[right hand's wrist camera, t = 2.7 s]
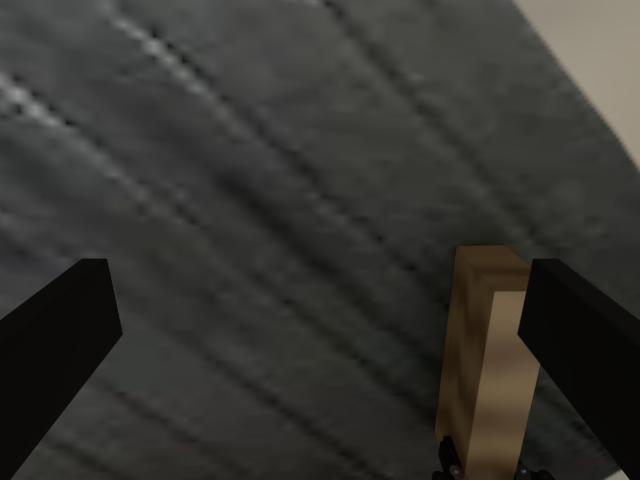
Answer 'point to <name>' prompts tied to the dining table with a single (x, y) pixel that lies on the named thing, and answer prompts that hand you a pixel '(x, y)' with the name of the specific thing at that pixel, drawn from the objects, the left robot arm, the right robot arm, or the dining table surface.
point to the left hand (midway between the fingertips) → (471, 441)
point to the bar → (486, 363)
